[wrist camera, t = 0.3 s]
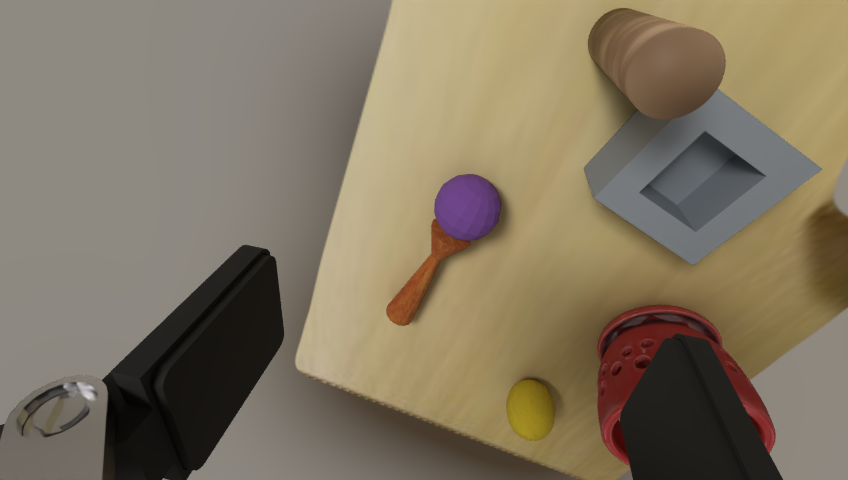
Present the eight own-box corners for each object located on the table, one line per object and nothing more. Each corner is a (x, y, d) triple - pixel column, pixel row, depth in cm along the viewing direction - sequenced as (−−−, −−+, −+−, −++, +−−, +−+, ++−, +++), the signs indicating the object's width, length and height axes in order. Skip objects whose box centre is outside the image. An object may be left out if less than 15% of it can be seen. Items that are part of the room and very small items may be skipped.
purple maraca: (365, 315, 46) (442, 176, 34) (390, 284, 51) (465, 153, 38) (410, 345, 46) (504, 216, 33) (430, 312, 50) (519, 188, 38)
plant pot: (608, 281, 42) (636, 375, 32) (744, 308, 41) (817, 416, 31) (570, 365, 49) (582, 463, 39) (684, 391, 48) (727, 499, 38)
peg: (616, -4, 29) (678, 8, 18) (659, 29, 30) (747, 62, 18) (576, 47, 32) (609, 89, 20) (617, 77, 32) (672, 135, 21)
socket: (679, 65, 31) (709, 82, 26) (775, 139, 32) (822, 169, 27) (583, 167, 36) (593, 198, 31) (670, 227, 38) (692, 265, 33)
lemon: (562, 383, 51) (568, 443, 44) (529, 401, 54) (530, 460, 47) (530, 359, 50) (531, 417, 43) (498, 378, 53) (495, 435, 46)
